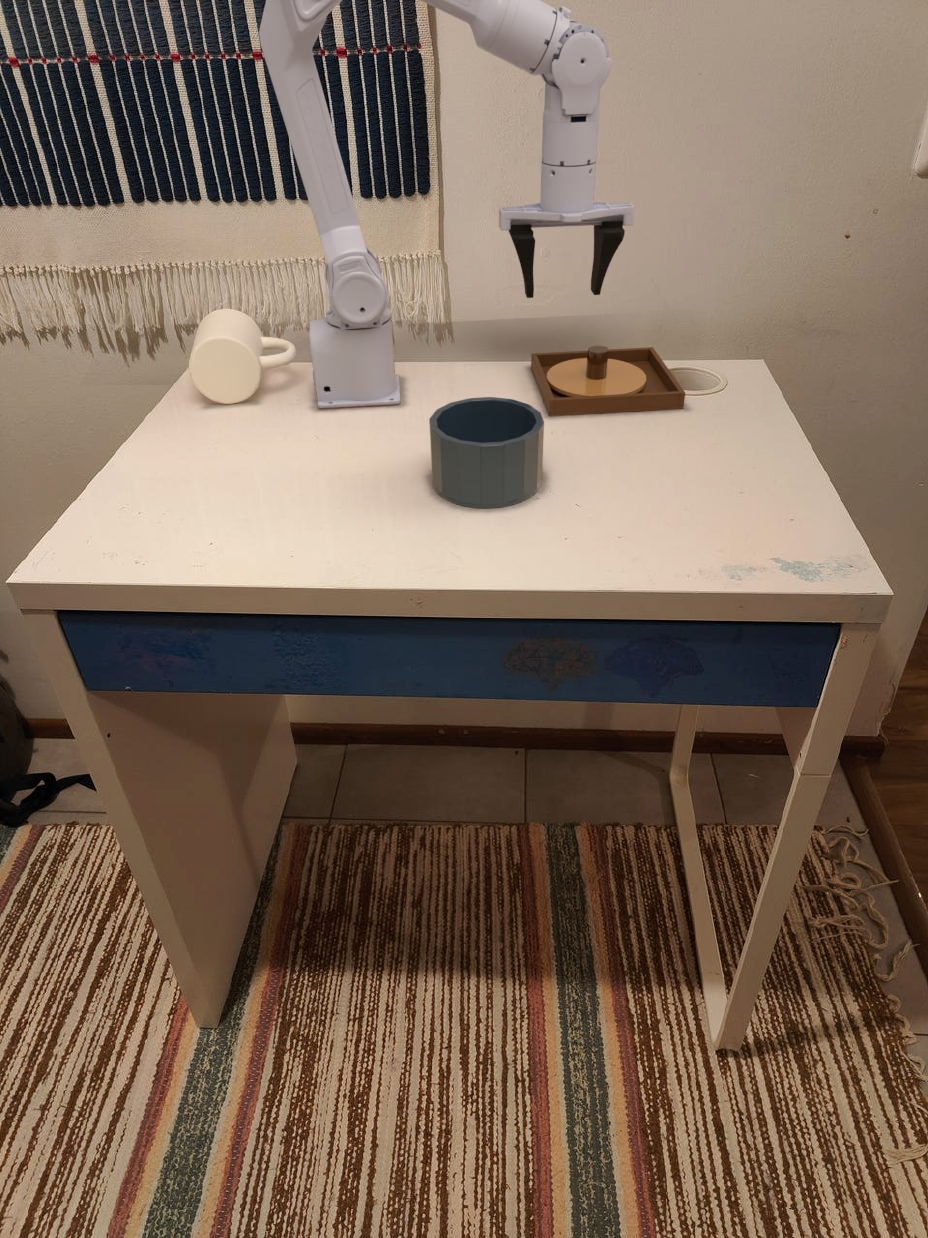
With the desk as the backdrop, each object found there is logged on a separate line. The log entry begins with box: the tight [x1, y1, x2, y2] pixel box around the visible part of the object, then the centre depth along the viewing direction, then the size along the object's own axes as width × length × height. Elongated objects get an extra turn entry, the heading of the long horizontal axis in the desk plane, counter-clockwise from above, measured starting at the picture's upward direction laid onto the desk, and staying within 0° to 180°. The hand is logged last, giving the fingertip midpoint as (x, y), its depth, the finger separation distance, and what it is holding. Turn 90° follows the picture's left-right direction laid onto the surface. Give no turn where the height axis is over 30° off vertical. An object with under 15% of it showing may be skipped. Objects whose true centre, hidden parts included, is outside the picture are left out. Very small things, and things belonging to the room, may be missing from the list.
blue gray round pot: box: [428, 396, 545, 509], centre depth 82 cm, size 11×11×6 cm
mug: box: [188, 308, 297, 405], centre depth 102 cm, size 12×10×8 cm
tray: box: [530, 346, 686, 417], centre depth 101 cm, size 15×14×2 cm
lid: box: [546, 345, 646, 397], centre depth 100 cm, size 12×12×4 cm
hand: (562, 293), depth 99 cm, fingers open, 7 cm apart
